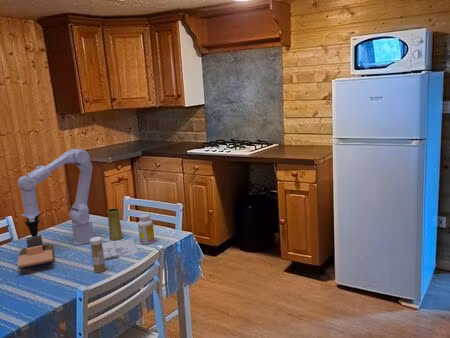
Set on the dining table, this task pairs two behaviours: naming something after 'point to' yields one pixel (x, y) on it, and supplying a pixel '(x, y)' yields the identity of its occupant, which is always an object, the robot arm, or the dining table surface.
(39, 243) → the plug
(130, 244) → the open book
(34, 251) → the panel
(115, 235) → the vase
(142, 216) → the supplement bottle
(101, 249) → the sprinkles bottle
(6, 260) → the dining table surface
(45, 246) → the socket
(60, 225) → the dining table surface
